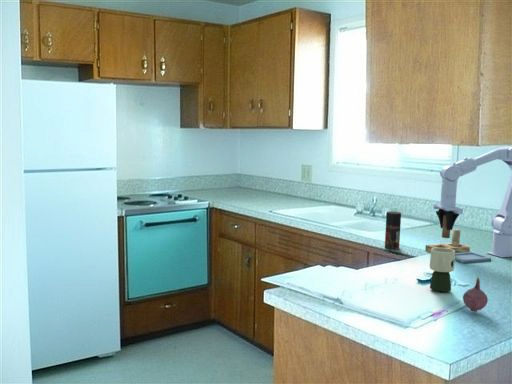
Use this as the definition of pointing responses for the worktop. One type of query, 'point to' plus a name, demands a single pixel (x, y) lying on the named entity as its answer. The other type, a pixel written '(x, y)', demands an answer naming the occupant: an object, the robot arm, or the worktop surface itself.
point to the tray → (470, 257)
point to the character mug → (441, 268)
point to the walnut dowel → (445, 228)
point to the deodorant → (392, 230)
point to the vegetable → (475, 297)
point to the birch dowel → (455, 237)
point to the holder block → (449, 247)
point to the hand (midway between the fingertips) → (446, 229)
